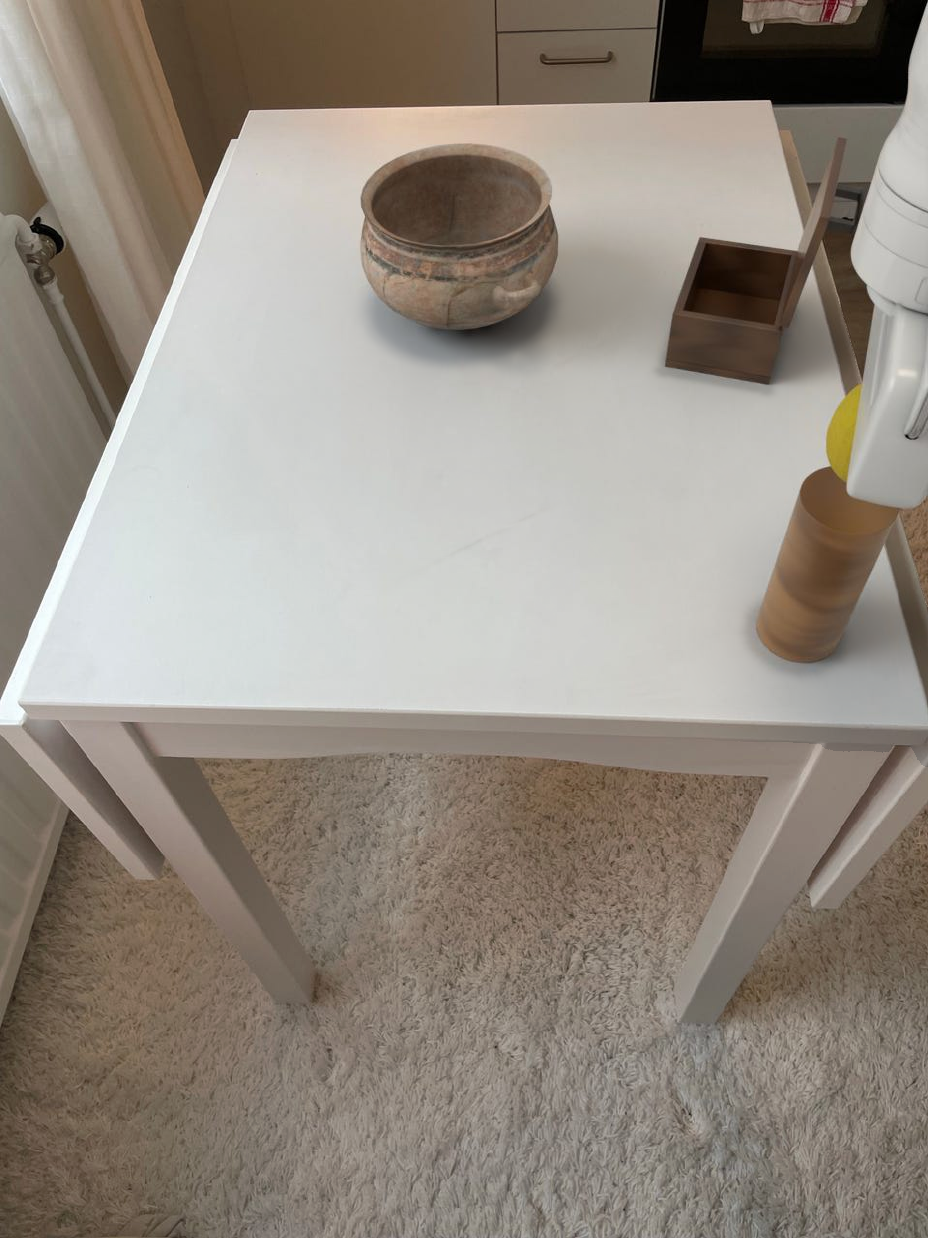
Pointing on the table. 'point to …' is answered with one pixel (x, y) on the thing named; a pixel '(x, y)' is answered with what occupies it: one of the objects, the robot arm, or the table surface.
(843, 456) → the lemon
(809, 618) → the stand
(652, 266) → the table surface
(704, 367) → the chest
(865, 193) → the lid
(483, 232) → the cooking pot
